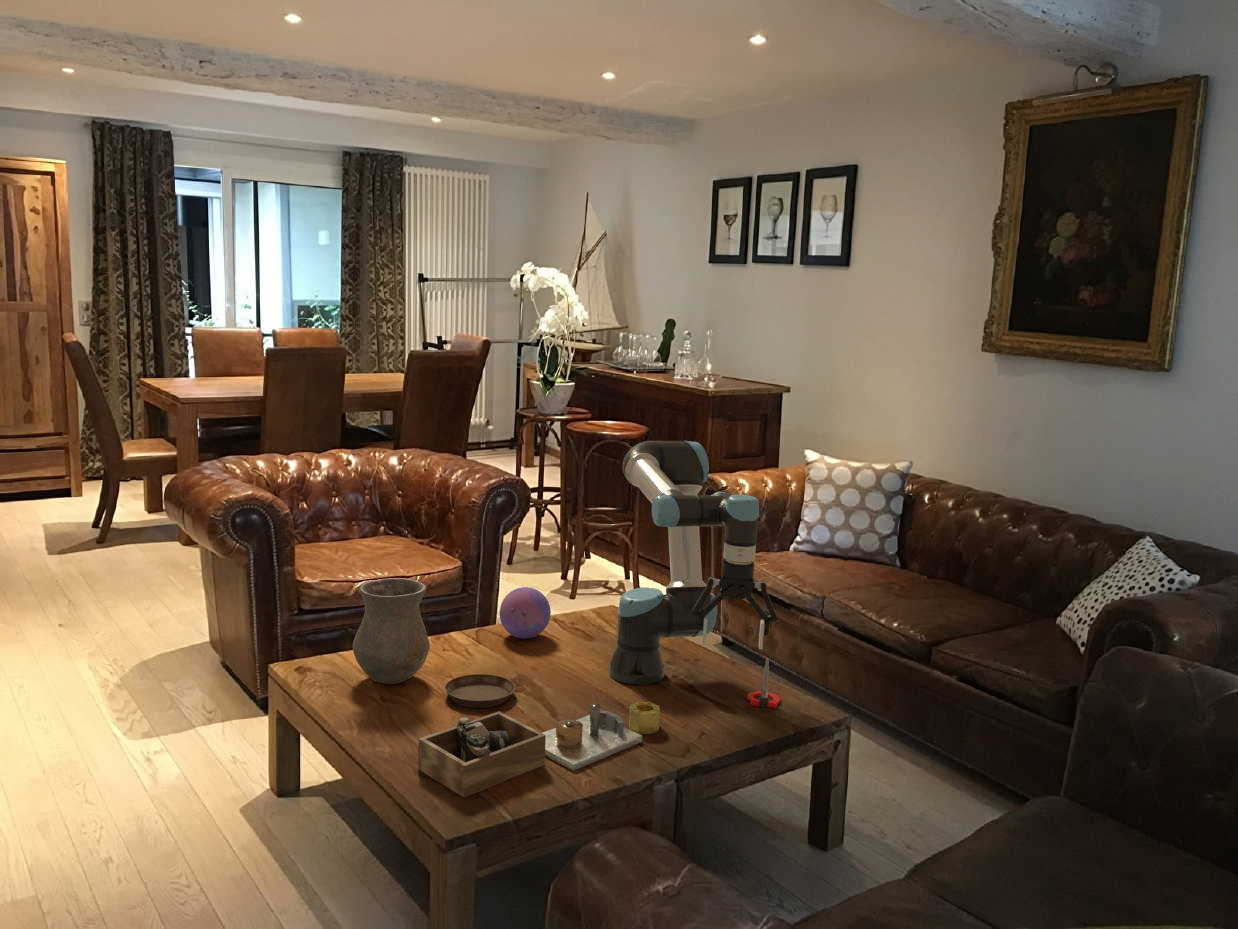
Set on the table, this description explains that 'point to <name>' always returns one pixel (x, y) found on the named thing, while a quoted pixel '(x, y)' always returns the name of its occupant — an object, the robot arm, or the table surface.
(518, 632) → the decorative ball
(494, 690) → the plant saucer
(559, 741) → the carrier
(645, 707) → the gear
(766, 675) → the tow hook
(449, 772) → the camera caddy
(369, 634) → the vase
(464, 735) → the camera
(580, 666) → the table surface
